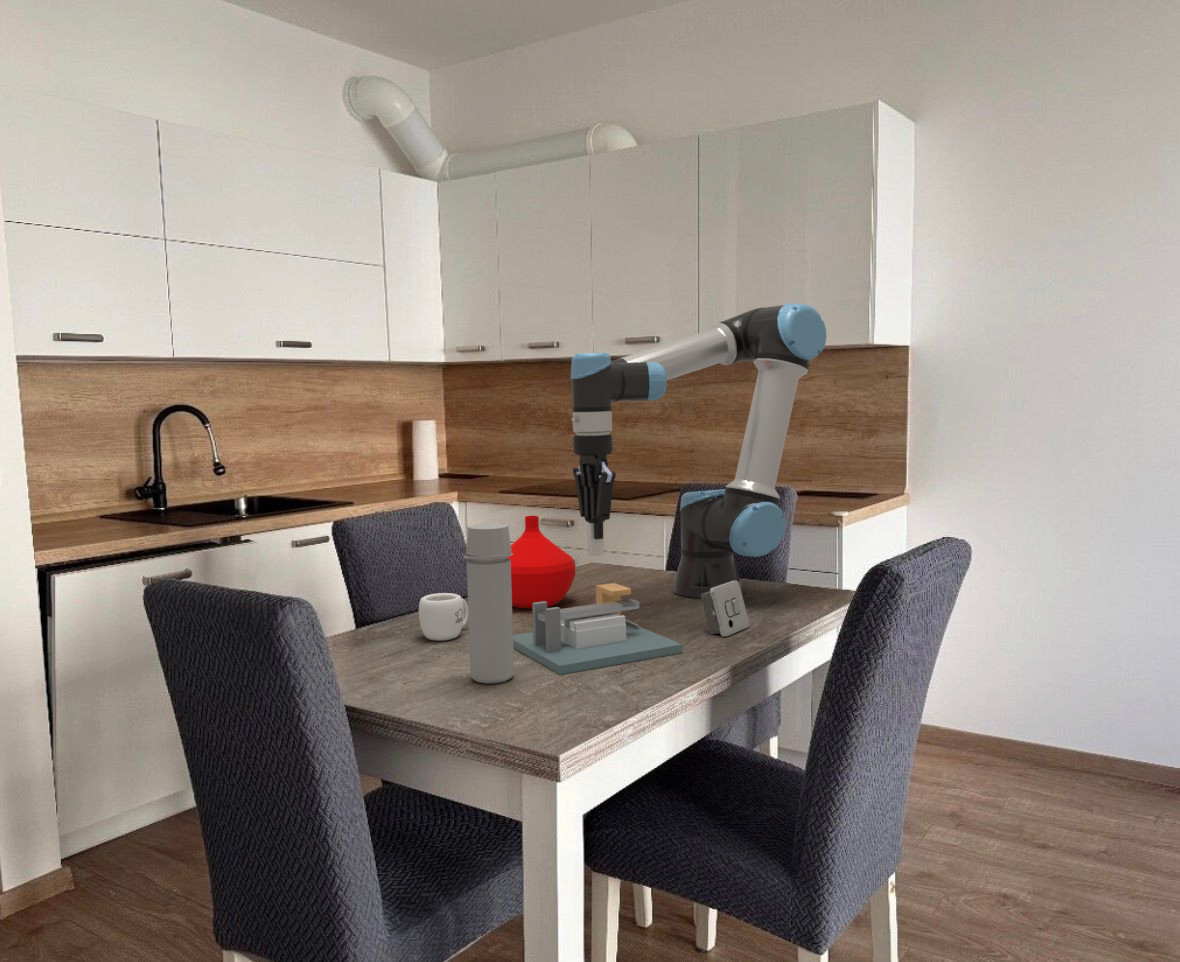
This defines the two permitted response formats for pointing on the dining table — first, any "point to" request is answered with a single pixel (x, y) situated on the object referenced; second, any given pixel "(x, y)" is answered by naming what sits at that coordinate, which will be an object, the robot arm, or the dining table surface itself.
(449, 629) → the mug
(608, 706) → the dining table surface
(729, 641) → the dining table surface
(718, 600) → the electrical switch
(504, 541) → the water bottle
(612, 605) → the grey long bar
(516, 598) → the vase
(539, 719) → the dining table surface
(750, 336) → the robot arm
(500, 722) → the dining table surface
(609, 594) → the orange block
